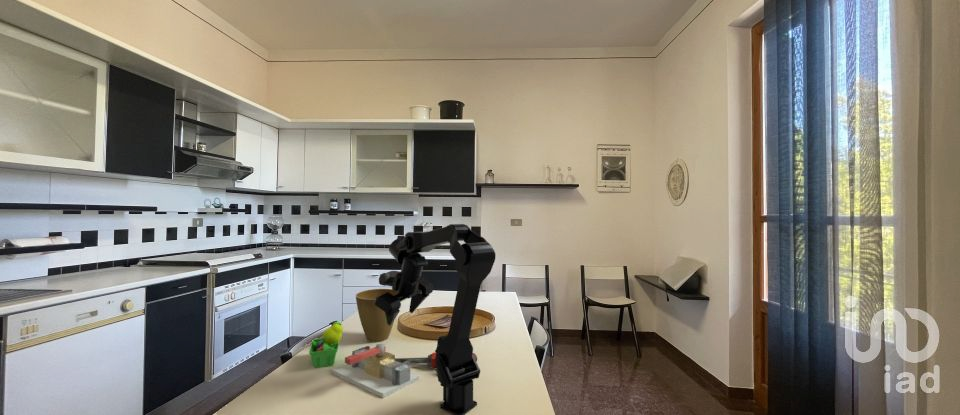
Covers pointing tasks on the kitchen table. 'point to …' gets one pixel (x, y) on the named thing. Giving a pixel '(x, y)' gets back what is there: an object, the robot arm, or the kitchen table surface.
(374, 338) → the plant pot
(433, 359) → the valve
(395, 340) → the kitchen table surface
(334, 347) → the fruit basket
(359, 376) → the mounting board
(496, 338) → the kitchen table surface
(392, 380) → the pipe valve
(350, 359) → the lever
